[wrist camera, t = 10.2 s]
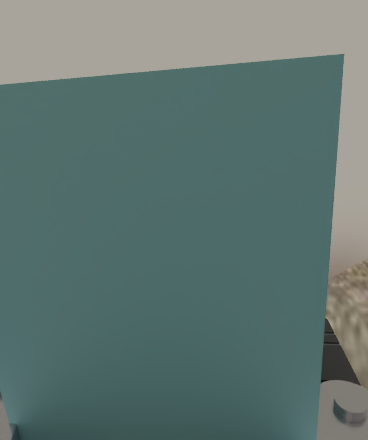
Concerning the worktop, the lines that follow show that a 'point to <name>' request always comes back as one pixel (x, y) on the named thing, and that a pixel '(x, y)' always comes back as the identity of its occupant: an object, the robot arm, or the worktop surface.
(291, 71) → the teal pillar
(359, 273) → the worktop surface
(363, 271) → the worktop surface
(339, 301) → the worktop surface
